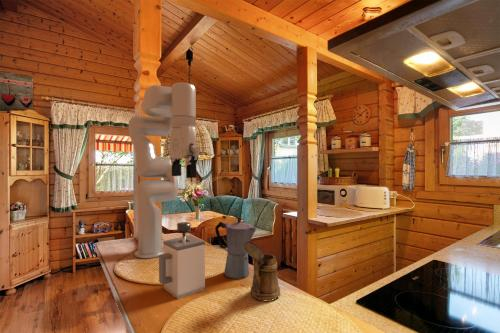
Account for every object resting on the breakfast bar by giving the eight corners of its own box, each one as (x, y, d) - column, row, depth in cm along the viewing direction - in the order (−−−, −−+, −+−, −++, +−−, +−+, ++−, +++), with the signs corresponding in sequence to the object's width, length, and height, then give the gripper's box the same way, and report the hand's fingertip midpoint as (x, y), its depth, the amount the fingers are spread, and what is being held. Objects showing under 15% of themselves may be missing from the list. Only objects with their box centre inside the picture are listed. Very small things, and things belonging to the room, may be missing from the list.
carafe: (154, 291, 86) (154, 242, 85) (189, 280, 94) (189, 235, 94) (168, 302, 79) (167, 249, 79) (205, 289, 87) (204, 241, 87)
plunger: (170, 273, 87) (170, 223, 87) (187, 268, 91) (187, 220, 91) (180, 279, 83) (179, 226, 83) (197, 274, 87) (197, 223, 87)
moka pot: (254, 281, 92) (254, 221, 92) (210, 278, 95) (209, 219, 95) (259, 270, 102) (259, 215, 101) (218, 267, 105) (218, 214, 104)
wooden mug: (235, 302, 79) (235, 238, 78) (260, 284, 90) (260, 229, 90) (262, 312, 74) (262, 244, 74) (285, 292, 85) (285, 232, 85)
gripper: (160, 124, 93) (160, 175, 94) (186, 119, 80) (186, 179, 81) (181, 126, 98) (181, 174, 99) (208, 121, 85) (208, 178, 86)
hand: (183, 176), depth 90 cm, fingers open, 9 cm apart
